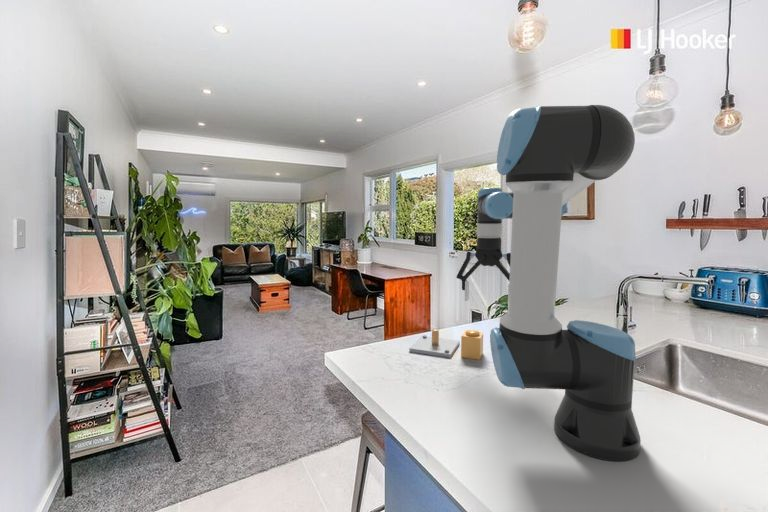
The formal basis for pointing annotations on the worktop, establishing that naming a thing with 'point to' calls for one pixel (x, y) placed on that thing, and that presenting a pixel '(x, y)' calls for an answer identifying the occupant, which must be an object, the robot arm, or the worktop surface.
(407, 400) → the worktop surface
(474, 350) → the single stud toy brick
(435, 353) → the plate
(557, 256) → the robot arm
